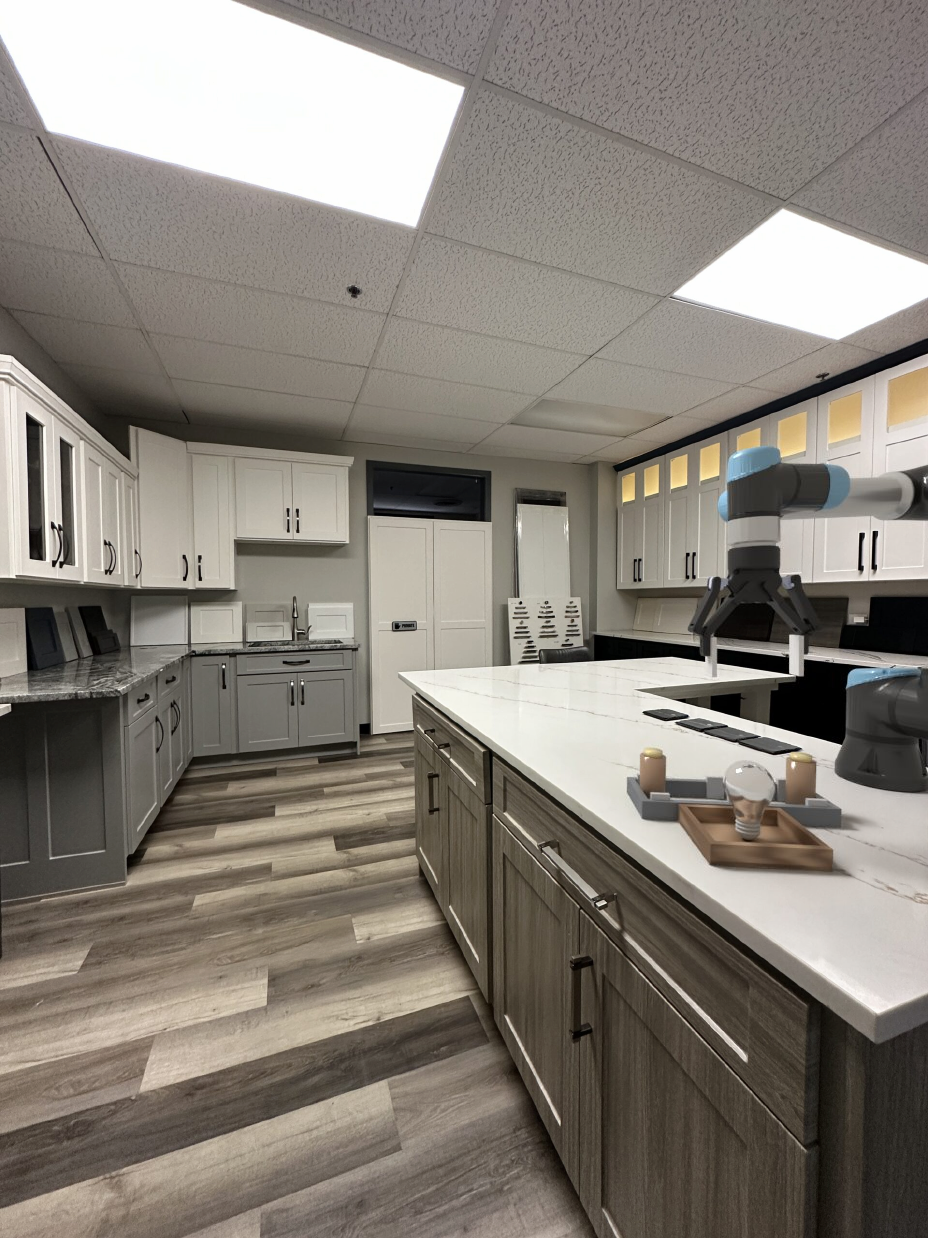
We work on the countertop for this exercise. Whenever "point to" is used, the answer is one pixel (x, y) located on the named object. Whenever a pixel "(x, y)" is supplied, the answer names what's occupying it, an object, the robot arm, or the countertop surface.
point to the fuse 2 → (800, 778)
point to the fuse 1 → (652, 771)
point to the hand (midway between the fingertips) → (753, 675)
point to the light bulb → (748, 795)
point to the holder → (666, 809)
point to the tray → (773, 848)
